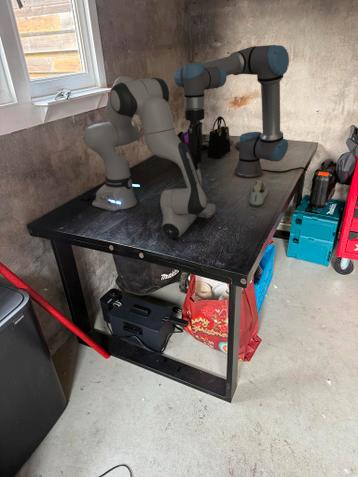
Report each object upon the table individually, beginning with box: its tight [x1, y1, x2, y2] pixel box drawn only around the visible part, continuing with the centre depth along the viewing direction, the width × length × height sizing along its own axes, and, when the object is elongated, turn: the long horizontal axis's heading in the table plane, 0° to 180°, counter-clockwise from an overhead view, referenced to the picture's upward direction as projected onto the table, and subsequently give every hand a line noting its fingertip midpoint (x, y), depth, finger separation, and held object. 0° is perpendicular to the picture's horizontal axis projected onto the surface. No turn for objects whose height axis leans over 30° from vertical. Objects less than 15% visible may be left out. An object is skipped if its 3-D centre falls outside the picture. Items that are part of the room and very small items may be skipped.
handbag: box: [206, 115, 231, 159], centre depth 220 cm, size 21×9×25 cm, turn 148°
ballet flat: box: [249, 179, 269, 207], centre depth 158 cm, size 8×24×8 cm, turn 163°
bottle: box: [196, 168, 203, 187], centre depth 143 cm, size 4×4×23 cm
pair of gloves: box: [202, 134, 234, 148], centre depth 251 cm, size 30×26×5 cm
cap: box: [198, 161, 202, 170], centre depth 137 cm, size 4×4×2 cm
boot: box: [176, 131, 186, 169], centre depth 209 cm, size 9×24×20 cm, turn 168°
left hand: (197, 200), depth 146 cm, fingers closed on bottle, 4 cm apart
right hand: (196, 167), depth 137 cm, fingers open, 5 cm apart
